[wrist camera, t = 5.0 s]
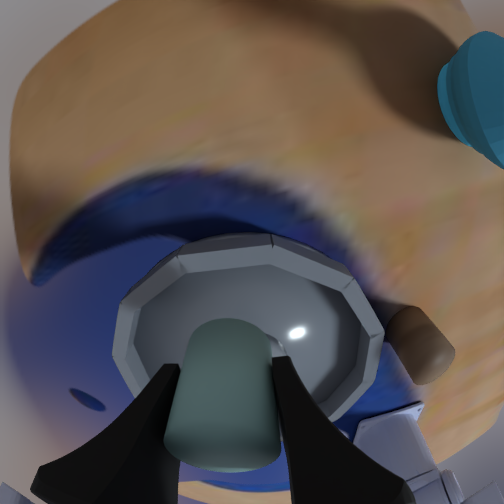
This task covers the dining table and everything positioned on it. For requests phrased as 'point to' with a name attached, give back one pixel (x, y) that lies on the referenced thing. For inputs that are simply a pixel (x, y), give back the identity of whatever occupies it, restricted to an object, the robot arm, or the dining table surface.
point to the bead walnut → (419, 345)
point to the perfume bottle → (476, 94)
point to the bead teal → (225, 400)
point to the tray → (255, 313)
